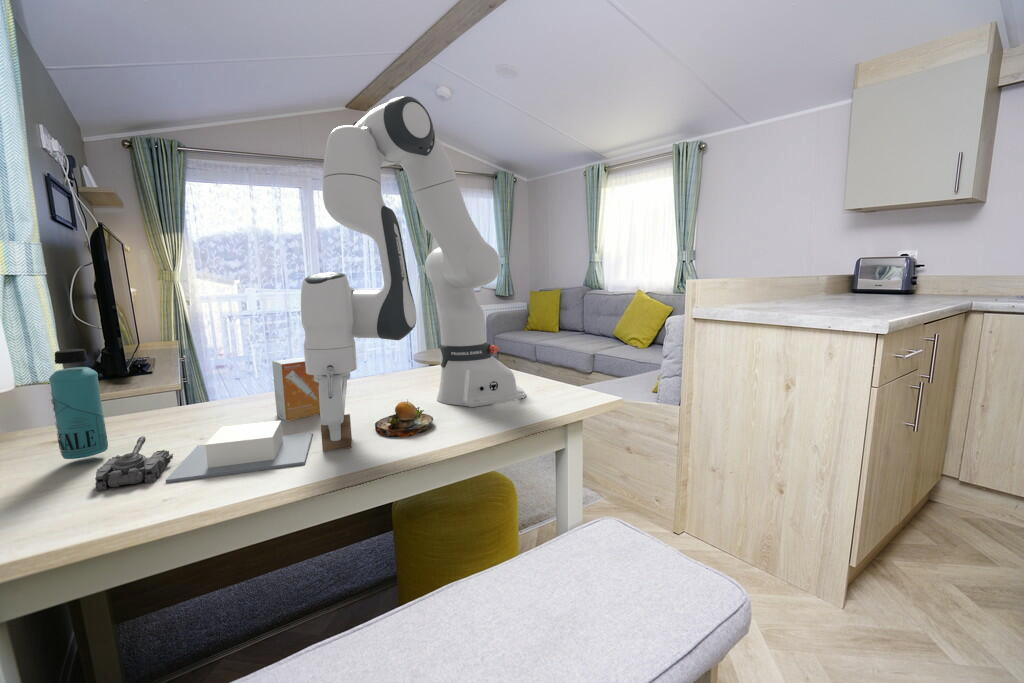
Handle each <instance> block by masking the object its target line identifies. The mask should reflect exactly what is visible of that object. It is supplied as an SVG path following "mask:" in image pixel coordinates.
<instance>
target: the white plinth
mask: <svg viewBox="0 0 1024 683" xmlns="http://www.w3.org/2000/svg"><path fill="white" fill-rule="evenodd" d="M283 436H284V435H283V426H282V419H281V420H270V421H263V422H262V421H261V422H253V423H252V422H251V423H242V424H233V425H225V426H223V425H222V426H220V428H219V429H218V430H217V431H216V432H215V434H213V435H212V436H211V437H210V439H209V440H208V441H207V442H206V443H205V444H204V445H205V447H206V456H207V464H208V468H211V467H219V466H227V465H235V464H242V463H250V462H258V461H266V460H274V459H275V458H276V455H277V453H278V451H279V448H280V446H281V444H282V442H283Z"/></svg>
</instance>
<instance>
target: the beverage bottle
mask: <svg viewBox="0 0 1024 683" xmlns="http://www.w3.org/2000/svg"><path fill="white" fill-rule="evenodd" d="M86 361H88V356H87V352H86V349H85V348H69V349H62V350H58V351H57V350H56V351H55V352H54V364H56V365H59V364H60V365H65V364H74V363H75V364H76V363H81V362H82V363H83V362H86ZM98 376H99V374H98V372H97V371H96V370H95V369H92V368H90V367H88V366H80V367H79V366H78V367H77V366H75V367H69V368H63V369H58V370H56V371H55V372H53V373H52V374H51V376H50V377H49V378H48V381H49V383H50V395H51V398H52V399H51V400H50V401H51V405H52V406H53V409H52V411H53V413H54V417H53V418H54V419H55V428H56V431H57V432H56V435H57V436H56V437H57V442H58V443H57V444H58V448H59V453H60V456H61V457H62V458H63V459H65V460H77V459H78V460H79V459H84V458H88V457H93V456H95V455H99V454H102V453H104V452H106V451H107V450H108V448H109V442H108V440H109V439H108V435H107V430H106V428H107V426H106V422H105V421H106V420H105V417H104V413H103V405H102V398H101V390H100V384H99V377H98Z"/></svg>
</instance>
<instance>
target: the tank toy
mask: <svg viewBox="0 0 1024 683" xmlns="http://www.w3.org/2000/svg"><path fill="white" fill-rule="evenodd" d="M146 439H147V438H146V437H145V436H144V435H143V436H140V437H139V438H137V441H136V444H135V445H134V448H133V449H132V452H128V453H126V454H123V455H121V456H120V455H118V454H117V455H116V456H114V457H111V458H109V459H107V461H105V463H103V465H102V466H100V467H99V468H98V469H96V471H95V478H94V479H95V488H94V489H95V491H96V492H101V491H105V490H106V491H107V490H108V489H109V487H110V488H112V487H113V488H118V487H121V486H124V485H135V484H138V483H142V482H143V481H144V483H145V484H151V483H155V482H157V478H159V476H160V475H162V474H163V471H164V469H165V468H166V466H167V464H169V463H171V460H173V457H174V453H171V454H170V451H169V450H165V449H162V450H157V451H155V452H153V454H152V455H151V456H150V457H146V456H144V454H141V453H140V451H141V450H142V447H143V445H144V444H145V442H146V441H147V440H146ZM108 486H109V487H108Z"/></svg>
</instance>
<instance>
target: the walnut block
mask: <svg viewBox="0 0 1024 683" xmlns="http://www.w3.org/2000/svg"><path fill="white" fill-rule="evenodd" d="M351 421H352V420H351V414H350V413H347V414H344V421H343V423H341V439H340V440H338V441H331V439H330V431H329V427H328V425H322V423H321V422H320V432H321V433H320V434H321V447H322V452H327V451H334V450H335V451H337V450H341V449H342V450H345V449H351V448H352V445H353V444H352V443H353V441H352V440H353V438H352V437H353V435H352V426H351V425H352V423H351Z"/></svg>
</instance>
